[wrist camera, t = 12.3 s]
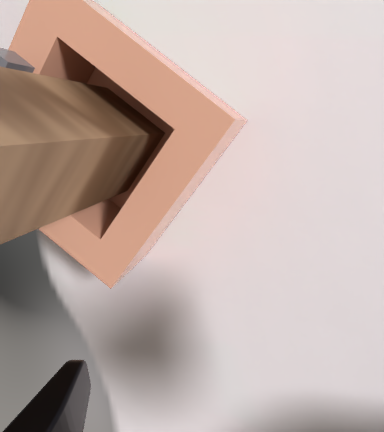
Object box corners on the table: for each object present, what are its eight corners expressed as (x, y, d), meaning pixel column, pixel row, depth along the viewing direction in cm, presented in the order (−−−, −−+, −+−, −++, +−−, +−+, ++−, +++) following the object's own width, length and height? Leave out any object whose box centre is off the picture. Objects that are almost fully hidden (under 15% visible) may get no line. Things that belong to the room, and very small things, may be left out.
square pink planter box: (247, 120, 18) (229, 119, 12) (145, 256, 21) (94, 304, 16) (98, 4, 18) (14, -50, 13) (22, 156, 22) (-71, 167, 16)
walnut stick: (165, 133, 19) (-19, 147, 7) (127, 190, 20) (-76, 276, 9) (107, 87, 19) (-158, 35, 8) (74, 148, 20) (-192, 178, 9)
